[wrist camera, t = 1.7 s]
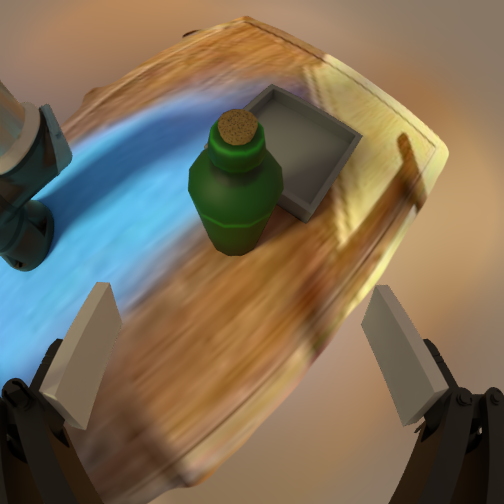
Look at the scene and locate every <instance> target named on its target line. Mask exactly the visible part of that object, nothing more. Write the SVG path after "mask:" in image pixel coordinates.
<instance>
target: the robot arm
mask: <svg viewBox="0 0 504 504" xmlns="http://www.w3.org/2000/svg"><path fill="white" fill-rule="evenodd" d="M71 161H72V152H71V149H70V147H69V145H68V143H67V141H66V139H65V137H64V135H63V132H62V130H61V128H60V126H59V124H58V122H57V120H56V117H55V115H54V113H53V111H52V109H51V107H50V105H49V104H45V105H44V106H41V107H39V109H38V108H37V107H36V106H35V105H34V104H32V103H29V102H24V103H19V102H18V101H17V100H16V99H15V98H14V96H13V95H12V94H11V93H10V92H9V91H8V89H7V88H6V87H5V86H4V85H3V83H2V82H1V81H0V256H1V257H2V258H3V259H4V260H5V261H6V262H7V263H8V264H9V265H10V266H11V267H12V268H14V269H17V270H20V271H30V270H32V269H34V268H36V267H37V266H38V265H39V264H40V263H41V262H42V261H43V259H44V258H45V256H46V255H47V253H48V251H49V248H50V246H51V243H52V239H53V233H54V221H53V217H52V214H51V212H50V210H49V209H48V208H47V207H46V206H45V205H44V204H42V203H41V202H39V201H36V200H31V198H32V197H33V196H35V195H36V194H37V193H38V192H39V191H40V190H41V189H42V188H43V187H45V186H46V185H47V184H48V183H49V182H50V181H52V180H53V179H54V178H55V177H56V176H58V175H59V174H60V172H61V171H62V170H63V169H65V168H66V167H67V166H68V165H69V164H70V163H71ZM361 325H362V328H363V330H364V332H365V334H366V337H367V339H368V341H369V343H370V346H371V348H372V350H373V353H374V355H375V357H376V359H377V362H378V364H379V367H380V369H381V371H382V373H383V376H384V379H385V381H386V383H387V386H388V388H389V391H390V393H391V396H392V399H393V401H394V404H395V406H396V409H397V412H398V414H399V417H400V419H401V422H402V425H403V426H406V425H410V424H413V423H416V422H417V421H418V420H419V419H421V418H422V417H423V416H424V418H425V421H424V422H423V423H422V424H421V425H420V426H419V427H418V428H417V429H416V430H415V432H414V433H417V432H418V431H419V430H420V429H421V430H420V433H419V436H418V439H417V441H416V444H415V447H414V449H413V452H412V454H411V457H410V459H409V462H408V464H407V466H406V469H405V471H404V473H403V476H402V478H401V480H400V482H399V484H398V486H397V488H396V490H395V492H394V494H393V496H392V498H391V500H390V502H389V504H504V395H503V393H502V392H501V391H500V390H499V389H498V388H495V387H491V388H489V389H488V390H487V391H486V393H485V394H472V393H471V392H470V391H469V390H467V389H466V388H462V387H458V385H457V383H456V381H455V380H454V378H453V376H452V374H451V372H450V370H449V369H448V367H447V365H446V363H445V362H444V360H443V358H442V356H440V353H439V351H438V349H437V348H436V346H435V345H434V344H433V343H432V342H431V341H430V340H428V339H423V340H422V338H421V337H420V335H419V333H418V331H417V330H416V328H415V326H414V325H413V323H412V321H411V320H410V318H409V317H408V315H407V314H406V312H405V310H404V309H403V307H402V306H401V304H400V302H399V301H398V300H397V298H396V296H395V295H394V293H393V292H392V290H391V289H390V287H389V286H388V285H376V286H375V288H374V291H373V294H372V297H371V300H370V303H369V305H368V308H367V311H366V313H365V316H364V319H363V321H362V324H361ZM121 326H122V321H121V318H120V315H119V312H118V309H117V305H116V302H115V299H114V296H113V292H112V289H111V285H110V283H105V282H97V283H96V284H95V286H94V287H93V289H92V291H91V292H90V294H89V295H88V297H87V299H86V300H85V302H84V304H83V305H82V307H81V309H80V311H79V312H78V314H77V316H76V318H75V319H74V321H73V323H72V325H71V327H70V328H69V330H68V332H67V334H66V336H65V338H64V340H63V339H58V338H57V339H56V340H55V341H54V342H53V343H52V344H51V345H50V346H49V348H48V350H47V352H46V354H45V357H44V358H43V360H42V364H40V366H39V368H38V370H37V372H36V374H35V376H34V378H33V380H32V383H31V385H30V387H29V388H28V386H27V385H26V384H25V383H24V382H23V381H22V380H21V379H19V378H13V379H10V380H9V381H7V382H6V383H5V385H4V386H3V389H2V397H3V398H1V397H0V504H104V503H103V501H102V500H101V498H100V496H99V495H98V493H97V491H96V490H95V488H94V486H93V484H92V483H91V481H90V479H89V477H88V475H87V474H86V472H85V470H84V468H83V466H82V464H81V462H80V460H79V458H78V456H77V454H76V451H75V449H74V447H73V445H72V443H71V440H70V438H69V436H68V433H67V431H66V429H65V427H64V426H63V424H64V421H65V420H66V421H67V422H68V423H69V424H70V425H71V426H73V427H76V428H79V429H83V430H86V427H87V424H88V420H89V417H90V413H91V410H92V407H93V404H94V401H95V397H96V394H97V391H98V388H99V385H100V382H101V379H102V376H103V374H104V371H105V368H106V365H107V362H108V360H109V357H110V354H111V352H112V349H113V346H114V344H115V341H116V339H117V336H118V334H119V331H120V329H121ZM481 427H482V433H481V434H480V432H479V429H480V428H481Z"/></svg>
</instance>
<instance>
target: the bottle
mask: <svg viewBox="0 0 504 504" xmlns="http://www.w3.org/2000/svg"><path fill="white" fill-rule="evenodd" d="M283 190H284V184H283V175H282V167H281V166H280V165H279V163H278V162H277V161H276V159H275V158H274V157H273V156H272V154H271V153H270V152H269V151H268V150H267V149H266V141H265V135H264V128H263V126H262V125H261V124H260V123H259V122H258V121H257V118H256V117H255V116H254V115H253V114H252V113H251V112H248V111H246V110H243V109H232V110H230V111H227V112H225V113H223V114H222V115H221V117H220V118H219V119H218V120H217V121H216V122H215V124H214V125H213V126H212V127H211V130H210V135H209V139H208V148H206V149H205V150H203V151H202V152H201V154H200V155H199V156H198V158H197V159H196V160H195V162H194V163H193V164H192V166H191V167H190V169H189V183H188V191H189V194H190V196H191V198H192V200H193V203H194V205H195V207H196V209H197V212H198V214H199V216H200V218H201V220H202V223H203V225H204V227H205V229H206V231H207V233H208V236H209V238H210V240H211V241H212V243H213V245H214V246H215V248H216V249H217V250H218V251H220V252H222V253H224V254H226V255H228V256H242V255H244V254H245V253H247V252H249V251H250V250H252V249H253V248H254V247H255V245H256V243H257V241H258V239H259V237H260V235H261V233H262V231H263V229H264V227H265V225H266V223H267V221H268V219H269V217H270V215H271V213H272V211H273V209H274V207H275V205H276V204H277V202H278V200H279V198H280V196H281V194H282V192H283Z"/></svg>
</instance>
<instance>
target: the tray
mask: <svg viewBox="0 0 504 504" xmlns="http://www.w3.org/2000/svg"><path fill="white" fill-rule="evenodd" d="M243 110H246V111H248V112H251V113H252V114H253V115H254V116H255V117H256V118H257V121H258V122H259V123H260V124H261V125H262V126H263V128H264V135H265V141H266V149H267V150H268V151H269V152H270V153H271V154H272V156H273V157H274V158H275V159H276V161H277V162H278V163H279V165H280V166H281V167H282V175H283V184H284V190H283V192H282V194H281V196H280V198H279V200H278V202H277V205H279V206H280V207H282V208H283V209H285V210H286V211H288V212H289V213H291V214H292V215H294V216H295V217H297V218H298V219H300V220H301V221H303V222H304V223H305V224H306V223H307V222H308V220H309V219H310V217H311V216H312V214H313V213H314V211H315V210H316V208H317V207H318V205H319V204H320V202H321V201H322V199H323V198H324V196H325V195H326V193H327V192H328V190H329V188H330V187H331V185H332V184H333V182H334V181H335V179H336V178H337V176H338V174H339V173H340V171H341V170H342V168H343V167H344V165H345V163H346V162H347V160H348V159H349V157H350V155H351V154H352V152H353V151H354V149H355V148H356V146H357V144H358V143H359V141H360V139H361V138H362V135H361V134H359V133H358V132H356V131H355V130H353V129H352V128H350V127H349V126H347V125H345V124H344V123H342V122H341V121H339V120H337V119H336V118H334V117H333V116H331V115H329V114H328V113H326V112H324V111H322V110H321V109H319V108H317V107H315V106H314V105H312V104H310V103H308V102H306V101H305V100H303V99H301V98H299V97H297V96H295V95H293V94H291V93H289V92H287V91H285V90H283V89H281V88H279V87H277V86H275V85H273V84H271V85H270V86H268V87H267V88H266V89H265V90H264V91H263V92H261V93H260V94H259V95H258V96H257V97H256V98H255V99H253V100H252V101H251V102H250V103H249V104H248V105H247V106H246V107H244V108H243ZM204 148H205V149H206V148H208V143H207V144H206V145H205V146H204Z"/></svg>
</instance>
